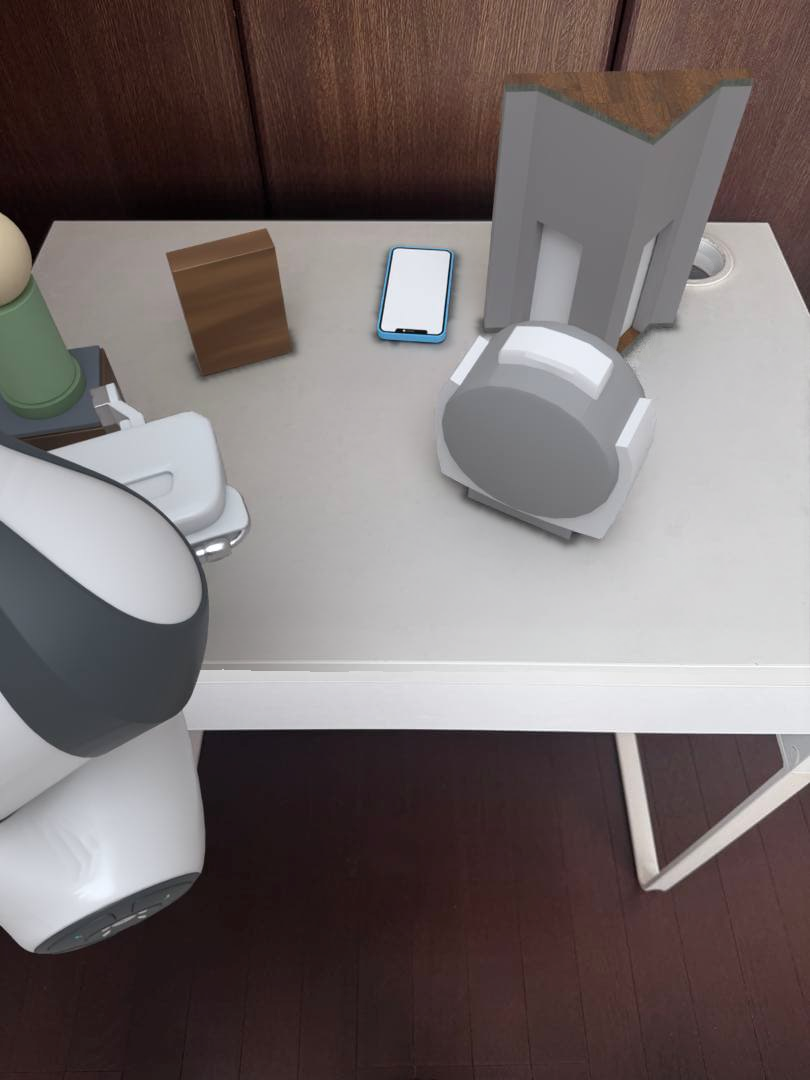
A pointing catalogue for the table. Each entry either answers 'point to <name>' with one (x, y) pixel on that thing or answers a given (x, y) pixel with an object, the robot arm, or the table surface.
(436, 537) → the table surface
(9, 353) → the toy
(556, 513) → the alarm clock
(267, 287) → the wooden block
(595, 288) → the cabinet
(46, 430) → the mat
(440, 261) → the smartphone
